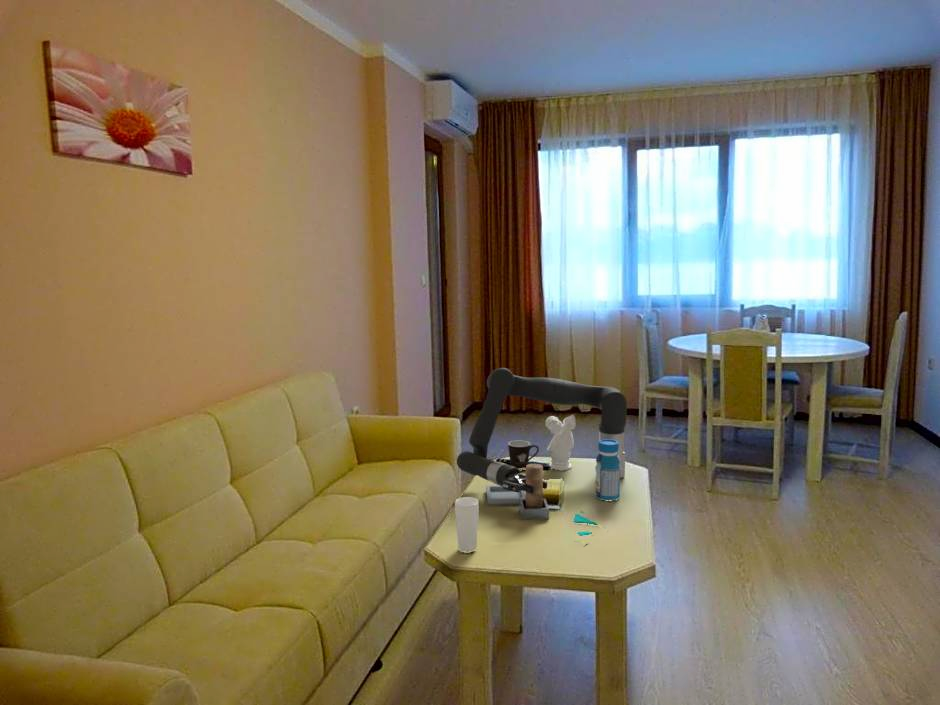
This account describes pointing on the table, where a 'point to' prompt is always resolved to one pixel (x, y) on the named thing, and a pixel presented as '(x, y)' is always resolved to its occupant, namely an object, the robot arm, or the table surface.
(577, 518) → the cloth
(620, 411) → the robot arm
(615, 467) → the beverage bottle
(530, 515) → the holder cup
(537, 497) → the canister
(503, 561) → the table surface
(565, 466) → the cherub figurine
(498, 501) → the tray
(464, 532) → the drinking glass
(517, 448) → the coffee mug
